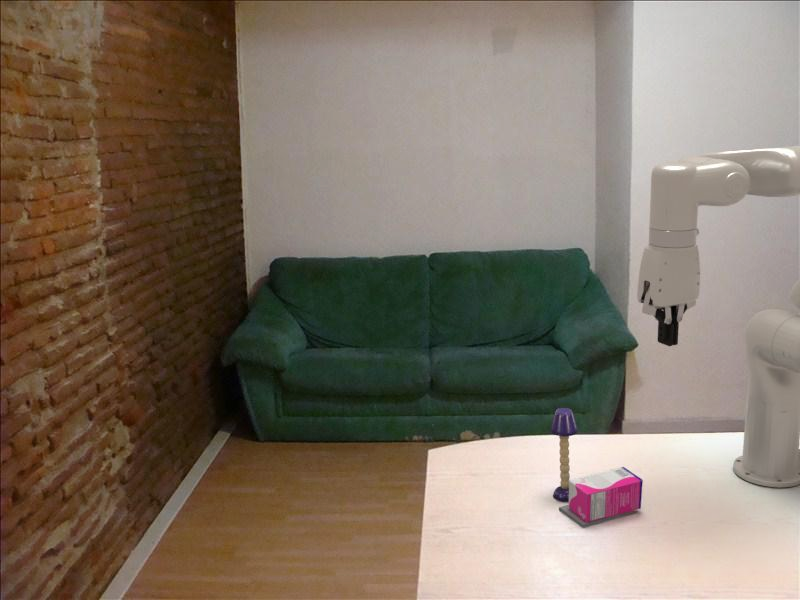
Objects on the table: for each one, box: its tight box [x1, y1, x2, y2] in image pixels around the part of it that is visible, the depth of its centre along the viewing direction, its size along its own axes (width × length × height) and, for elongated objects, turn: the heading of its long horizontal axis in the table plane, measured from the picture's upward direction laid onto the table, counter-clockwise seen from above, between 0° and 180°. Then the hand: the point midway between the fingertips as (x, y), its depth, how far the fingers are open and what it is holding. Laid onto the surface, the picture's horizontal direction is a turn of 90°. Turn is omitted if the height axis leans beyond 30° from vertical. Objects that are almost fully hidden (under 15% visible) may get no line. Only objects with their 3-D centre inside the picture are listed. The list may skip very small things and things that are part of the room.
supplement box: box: [568, 466, 644, 523], centre depth 151 cm, size 6×6×12 cm
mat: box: [558, 503, 636, 529], centre depth 153 cm, size 11×7×1 cm, turn 115°
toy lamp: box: [550, 407, 578, 503], centre depth 156 cm, size 5×5×17 cm
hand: (667, 343), depth 149 cm, fingers closed
